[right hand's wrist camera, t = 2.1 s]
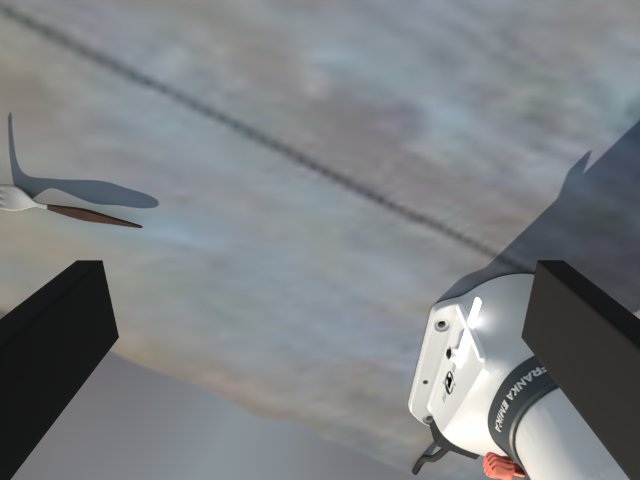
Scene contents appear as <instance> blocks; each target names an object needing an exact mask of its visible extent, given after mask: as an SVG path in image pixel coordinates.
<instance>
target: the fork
mask: <svg viewBox="0 0 640 480" xmlns="http://www.w3.org/2000/svg"><path fill="white" fill-rule="evenodd" d="M0 203H1V204H0V209H4V210H13V211H18V210H24V209H28V208H31V207H40V208H44V209H47V210H50V211H54V212H57V213H60V214H63V215H66V216H69V217H72V218H76V219H79V220H84V221H89V222H97V223H106V224H114V225H121V226H128V227H136V228H142V226H141V225H138V224H135V223H131V222H128V221H124V220H121V219H117V218H114V217H111V216H107V215H104V214H101V213H98V212H95V211H91V210H87V209H82V208H76V207H67V206H58V205H49V204H42V203H38V202H36V201H35V200H33V199H32V198H31V197H30V196H29V195H28V194H27V193H26V192H24V191H23V190H22V189H20V188H18V187H16V186H13V185H3V184H0Z"/></svg>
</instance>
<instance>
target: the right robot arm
mask: <svg viewBox="0 0 640 480" xmlns="http://www.w3.org/2000/svg"><path fill="white" fill-rule="evenodd" d="M118 338H119V335H118V331H117V326H116V322H115V317H114V312H113V308H112V303H111V298H110V294H109V289H108V284H107V280H106V275H105V271H104V266H103V261H102V260H77V261H76V262H74V263H73V264H72V265H70V266H69V267H68V268H66V269H65V270H64V271H63V272H61V273H60V274H59V275H57V276H56V277H55V278H53V279H52V280H51V281H50V282H48V283H47V284H46V285H44V286H43V287H42V288H40V289H39V290H38V291H37V292H35V293H34V294H33V295H31V296H30V297H29V298H27V299H26V300H25V301H24V302H22V303H21V304H20V305H18V306H17V307H16V308H14V309H13V310H12V311H11V312H9V313H8V314H7V315H5V316H4V317H3V318H1V319H0V480H10V479H11V478H12V477H13V476H14V474H15V473H16V472H17V470H18V469H19V468H20V466H21V465H22V464H23V462H24V461H25V460H26V458H27V457H28V456H29V455H30V453H31V452H32V451H33V449H34V448H35V447H36V445H37V444H38V443H39V441H40V440H41V439H42V437H43V436H44V435H45V434H46V432H47V431H48V430H49V428H50V427H51V426H52V424H53V423H54V422H55V420H56V419H57V418H58V417H59V415H60V414H61V413H62V411H63V410H64V409H65V407H66V406H67V405H68V403H69V402H70V401H71V399H72V398H73V397H74V396H75V394H76V393H77V392H78V390H79V389H80V388H81V386H82V385H83V384H84V382H85V381H86V380H87V378H88V377H89V376H90V375H91V373H92V372H93V371H94V369H95V368H96V367H97V365H98V364H99V363H100V361H101V360H102V359H103V357H104V356H105V355H106V354H107V352H108V351H109V350H110V348H111V347H112V346H113V344H114V343H115V342H116V340H117V339H118ZM521 338H522V339H523V340H524V342H525V343H526V344H527V346H528V347H529V348H530V350H531V351H532V352H533V354H534V355H535V356H536V357H537V359H538V360H539V361H540V363H541V364H542V365H543V367H544V368H545V369H546V371H547V372H548V373H549V375H550V376H551V377H552V378H553V380H554V381H555V382H556V384H557V385H558V386H559V388H560V389H561V390H562V392H563V393H564V394H565V396H566V397H567V398H568V399H569V401H570V402H571V403H572V405H573V406H574V407H575V409H576V410H577V411H578V413H579V414H580V415H581V417H582V418H583V419H584V420H585V422H586V423H587V424H588V426H589V427H590V428H591V430H592V431H593V432H594V434H595V435H596V436H597V437H598V439H599V440H600V441H601V443H602V444H603V445H604V447H605V448H606V449H607V451H608V452H609V453H610V455H611V456H612V457H613V458H614V460H615V461H616V462H617V464H618V465H619V466H620V468H621V469H622V470H623V472H624V473H625V474H626V476H627V477H628V478H629V479H630V480H640V319H639V318H637V317H636V316H635V315H633V314H632V313H631V312H629V311H628V310H627V309H626V308H624V307H623V306H622V305H620V304H619V303H618V302H616V301H615V300H614V299H613V298H611V297H610V296H609V295H607V294H606V293H605V292H603V291H602V290H601V289H600V288H598V287H597V286H596V285H594V284H593V283H592V282H590V281H589V280H588V279H587V278H585V277H584V276H583V275H581V274H580V273H579V272H577V271H576V270H575V269H574V268H572V267H571V266H570V265H568V264H567V263H566V262H564V261H563V260H538V261H537V266H536V271H535V275H534V280H533V284H532V289H531V294H530V298H529V303H528V308H527V312H526V317H525V321H524V326H523V331H522V335H521Z"/></svg>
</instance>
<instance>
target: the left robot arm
mask: <svg viewBox="0 0 640 480" xmlns="http://www.w3.org/2000/svg"><path fill="white" fill-rule="evenodd" d="M533 280H534V275H533V274H511V275H505V276H501V277H497V278H494V279H492V280H489V281H487V282H485V283H483V284H481V285H479V286H477V287H476V288H474V289H473V290H471V291H470V292H468V293H466V294H464V295H462V296H460V297H456V298H452V299H447V300H444V301H441V302H439V303H437V304H435V305H434V306H433V307H432V309H431V312H430V316H429V321H428V325H427V329H426V333H425V337H424V341H423V345H422V349H421V353H420V357H419V361H418V365H417V369H416V373H415V377H414V382H413V386H412V390H411V394H410V398H409V403H408V406H409V409H410V411H411V413H412V414H413V415H414V416H415V417H416V418H417V419H418V420H419V421H421V422H422V423H424V424H426V425H427V426H429V427H430V429H431V432H432V435H433V439H434V442H435V445H436V446H439V447H442V448H441V449H440V450H439V451H438V452H437V453H435V454H433V455H423V456H422V457H421V458H420V459H419V460H418V461H417V463H416V464H415V466H414V468H413V469H412V473H413V474H414V475H417V474H418V472H419V470H420V469H421V467H422V465H423V464H424V463H425V462H435V461H437V460H439V459H440V458H442V457H443V456H444V455H445V454H446V453H447V452H448V451H449V450H450V451H453V452H456V453H458V454H461V455H464V456H467V457H470V458H473V459H475V460H476V459H477V458H478V457H479V455H483V456H485V457H484V461H483V463H484V465H483V467H484V469H485V470H484V471H485V473H486V475H487V476H489V477H491V478H502V479H503V480H511V479H512V478H513V476H514V475H515V476H520V477H523V478H524V480H630V479H629V478H628V477H627V476H626V474H625V473H624V472H623V470H622V469H621V468H620V466H619V465H618V464H617V462H616V461H615V460H614V458H613V457H612V456H611V455H610V453H609V452H608V451H607V449H606V448H605V447H604V445H603V444H602V443H601V441H600V440H599V439H598V437H597V436H596V435H595V434H594V432H593V431H592V430H591V428H590V427H589V426H588V424H587V423H586V422H585V420H584V419H583V418H582V417H581V415H580V414H579V413H578V411H577V410H576V409H575V407H574V406H573V405H572V403H571V402H570V401H569V399H568V398H567V397H566V396H565V394H564V393H563V392H562V390H561V389H560V388H559V386H558V385H557V384H556V382H555V381H554V380H553V378H552V377H551V376H550V375H549V373H548V372H547V371H546V369H545V368H544V367H543V365H542V364H541V363H540V361H539V360H538V359H537V357H536V356H535V355H534V354H533V352H532V351H531V350H530V348H529V347H528V346H527V344H526V343H525V342H524V340H523V339H522V338H521V335H522V331H523V326H524V321H525V317H526V312H527V308H528V303H529V298H530V294H531V289H532V284H533ZM440 321H444V322H443V323H442V324H438V323H439V322H440ZM427 416H428V417H427ZM512 460H513V461H514V462H516V463H513V461H512Z"/></svg>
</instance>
